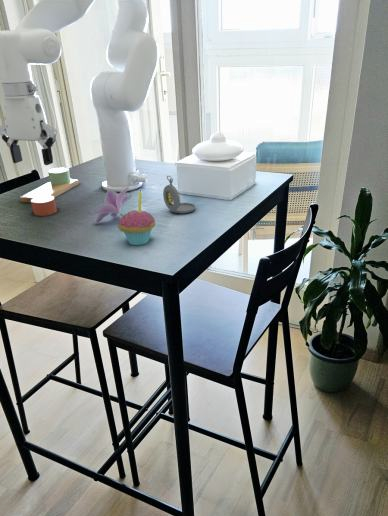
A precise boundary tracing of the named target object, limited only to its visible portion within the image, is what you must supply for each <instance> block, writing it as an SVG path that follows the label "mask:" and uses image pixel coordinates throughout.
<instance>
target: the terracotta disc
mask: <svg viewBox="0 0 388 516" xmlns="http://www.w3.org/2000/svg"><path fill="white" fill-rule="evenodd" d="M55 199H56V197H55V198H54V197H53V196H39V197H35V198H33V199H31V203H30V205H31V208H32V213H33V215H34V216H38V217H45V216H50V215H53V214H55V213H57V212H58V209H57V204H56V203H57V202H56V200H55Z"/></svg>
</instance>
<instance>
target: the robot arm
mask: <svg viewBox="0 0 388 516" xmlns="http://www.w3.org/2000/svg"><path fill="white" fill-rule="evenodd" d="M96 1H97V0H39V1H38V2H37V3H36V4H34V6H33V7H32V8H30V10H29V11H27V13H26V14H25V15H24V16H23V17H22V19H21V21H20V22H19V23H18V25H16V27H15V29H13V30H12V29H6V30H5V29H4V30H0V86H1V90H2V94H3V96H2V100H1V101H2V103H1V104H2V113H3V120H4V122H3V124H1V125H0V137H1V139H2V140H3V142H5V144H6V146H7V147H8V148H9V151H10V156H11V159H12V163H13V164H17V163H21V162H23V156H22V151H21V147H20V145H19V144H18V143H19V142H20V141H27V142H38V144H39V145H40V146H41V155H42V162H43V164H44V166H49V165H52V164H53V163H54V158H53V152H52V147H53V146H54V144H55V142H56V138H57V134H58V130H57V129H56V128H54V127H53V126H51V125H50V124H48V122H47V118H46V117H47V116H46V114H45V110H44V107H43V104H42V101H41V99H40V96H39V95H36V92H38V90H39V88H38V86H37V85H34V81H33V74H32V69H31V65H41V66H48V65H52V64H54V63H56V62H57V61H58V60H59V59H60V57H61V55H62V50H63V49H62V43H61V40H60V39H59V37H58V36H57V35H56V33H57V32H59V31H61V30H63V29H65V28H66V27H69V26H71V25H74V24H75V23H77V22H79V21H80V20H82V19H84V17H85V16H87V14H88V12H89V11H90V9H91V8H92V6H93V5H94V4H95V2H96ZM117 4H118V11H117V14H116V15H117V16H116V19H115V22H114V26H113V29H112V32H111V36H110V38H109V41H108V44H107V48H106V60H107V63H108V64H109V66H110V67H112V69H114V70H116V71H112V70H111V71H109V70H108V71H101V72H99V73H97V74H95V76H93V78H92V79H91V82H90V87H89V93H90V99H91V102H92V105H93V108H94V110H95V115H96V119H97V126H98V131H99V132H98V133H99V138H100V139H99V140H100V146H101V152H102V158H103V159H102V160H103V167H104V173H105V181H103V182H102V183H101V187H102V189H103V190H104V191H106V192H107V191H108V190H109V189H111V190H113V191H115V192H116V193H120V192H121V191H123V190H124V189H125V188H127V187H129V188H128V190H127V192H129V191H134V190H137V189H140V188H142V186H143V184H147V183H149V177H148V175H147V174H140V169H137V167H136V159H135V149H134V140H133V130H132V129H133V128H132V123H131V118H130V116H129V114H128V113H131V112H132V113H135V112H138V111H139V110H140V109H141V108H142V107H143V106H144V105H145V103H146V101H147V98H148V96H149V93H150V89H151V87H152V84H153V81H154V78H155V75H156V72H157V68H158V65H159V61H160V50H159V45H158V42H157V40H156V39H155V37H154V36H153V35H152V34H151V33H149V32H147V29H148V24H149V19H150V18H149V11H148V6H147V3H146V1H145V0H117Z"/></svg>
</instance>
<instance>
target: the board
mask: <svg viewBox="0 0 388 516" xmlns="http://www.w3.org/2000/svg"><path fill="white" fill-rule="evenodd" d="M70 179H71V181H70V182H69V183H66V184H61V185H54V184H51V183H50V181H49V182H46V183H45V184H43V185H41V186H39V187H37V188H35V189H33V190H31V191H29V192H27V193H25V194H23V195H21V196H20V197H19V199H20V200H19V201H20V203H26V204H27V203H28V204H31V199H33V198H35V197H39V196H53V197H54V198H55V199H56V198H57V197H59V196H61V195H62V194H65V193H66V192H68V191H69V190H71V189H72V188H75V187H76V186H78V185H79V184H80V183H79V179H76V178H70Z"/></svg>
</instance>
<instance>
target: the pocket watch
mask: <svg viewBox="0 0 388 516" xmlns="http://www.w3.org/2000/svg"><path fill="white" fill-rule="evenodd" d="M166 180H167V181H168V183H169V184H167V185H166V186H164V188H163V192H162V195H163V197H162V198H163V201H164V203H165V205H166V208H168V210H170V211H171V212H173V213H177V214H188V213H189V214H190V213H192V212H193V211H195V210H196V205H195V204H194V203H191V202H181V198H180V193H178V188H176V186H174V185H173V182H174V179H173V177H172V176H171V175H166Z"/></svg>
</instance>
